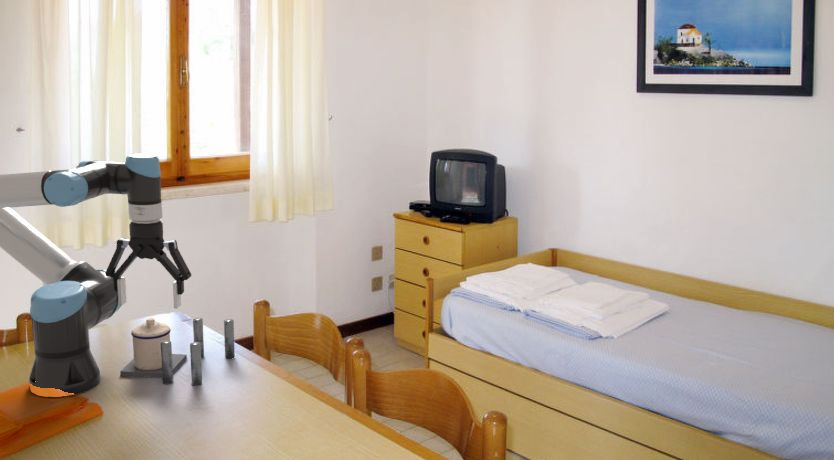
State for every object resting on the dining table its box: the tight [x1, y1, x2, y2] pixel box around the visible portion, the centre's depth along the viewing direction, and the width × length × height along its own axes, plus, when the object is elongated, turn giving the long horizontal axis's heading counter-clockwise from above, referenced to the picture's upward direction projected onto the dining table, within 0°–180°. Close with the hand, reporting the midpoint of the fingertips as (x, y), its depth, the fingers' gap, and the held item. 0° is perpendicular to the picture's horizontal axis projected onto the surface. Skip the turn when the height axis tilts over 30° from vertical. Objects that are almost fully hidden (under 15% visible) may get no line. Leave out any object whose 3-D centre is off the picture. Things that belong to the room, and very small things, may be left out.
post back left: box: [192, 317, 205, 358], centre depth 201 cm, size 2×2×10 cm
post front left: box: [161, 340, 174, 385], centre depth 185 cm, size 2×2×10 cm
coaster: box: [119, 353, 188, 379], centre depth 194 cm, size 12×12×1 cm
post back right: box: [223, 318, 236, 360], centre depth 200 cm, size 2×2×10 cm
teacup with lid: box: [130, 317, 172, 370], centre depth 193 cm, size 12×9×12 cm
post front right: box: [189, 341, 203, 387], centre depth 185 cm, size 2×2×10 cm
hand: (149, 305), depth 191 cm, fingers open, 13 cm apart
